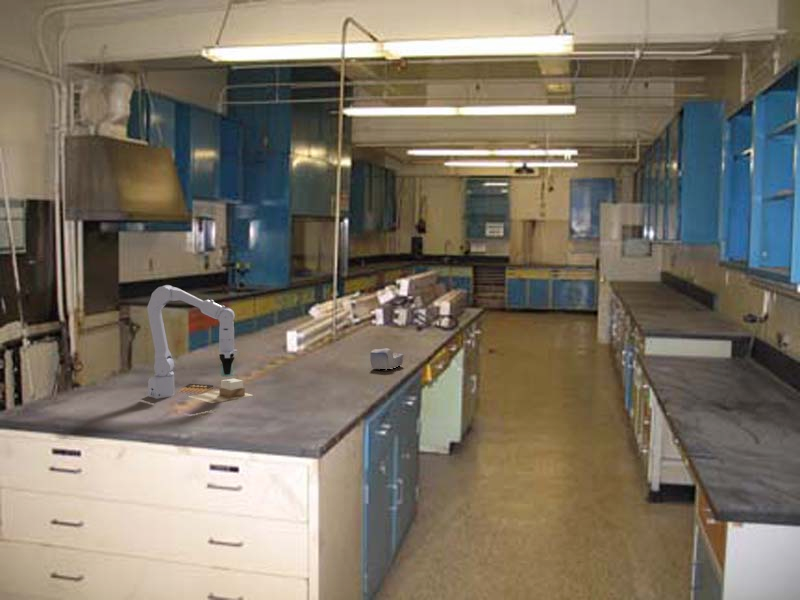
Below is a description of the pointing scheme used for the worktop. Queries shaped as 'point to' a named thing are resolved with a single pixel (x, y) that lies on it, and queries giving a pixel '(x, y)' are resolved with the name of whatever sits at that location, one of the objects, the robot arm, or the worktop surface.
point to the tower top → (231, 384)
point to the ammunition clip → (196, 388)
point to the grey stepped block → (385, 359)
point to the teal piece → (228, 374)
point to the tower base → (232, 392)
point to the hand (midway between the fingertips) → (226, 373)
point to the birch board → (214, 397)
